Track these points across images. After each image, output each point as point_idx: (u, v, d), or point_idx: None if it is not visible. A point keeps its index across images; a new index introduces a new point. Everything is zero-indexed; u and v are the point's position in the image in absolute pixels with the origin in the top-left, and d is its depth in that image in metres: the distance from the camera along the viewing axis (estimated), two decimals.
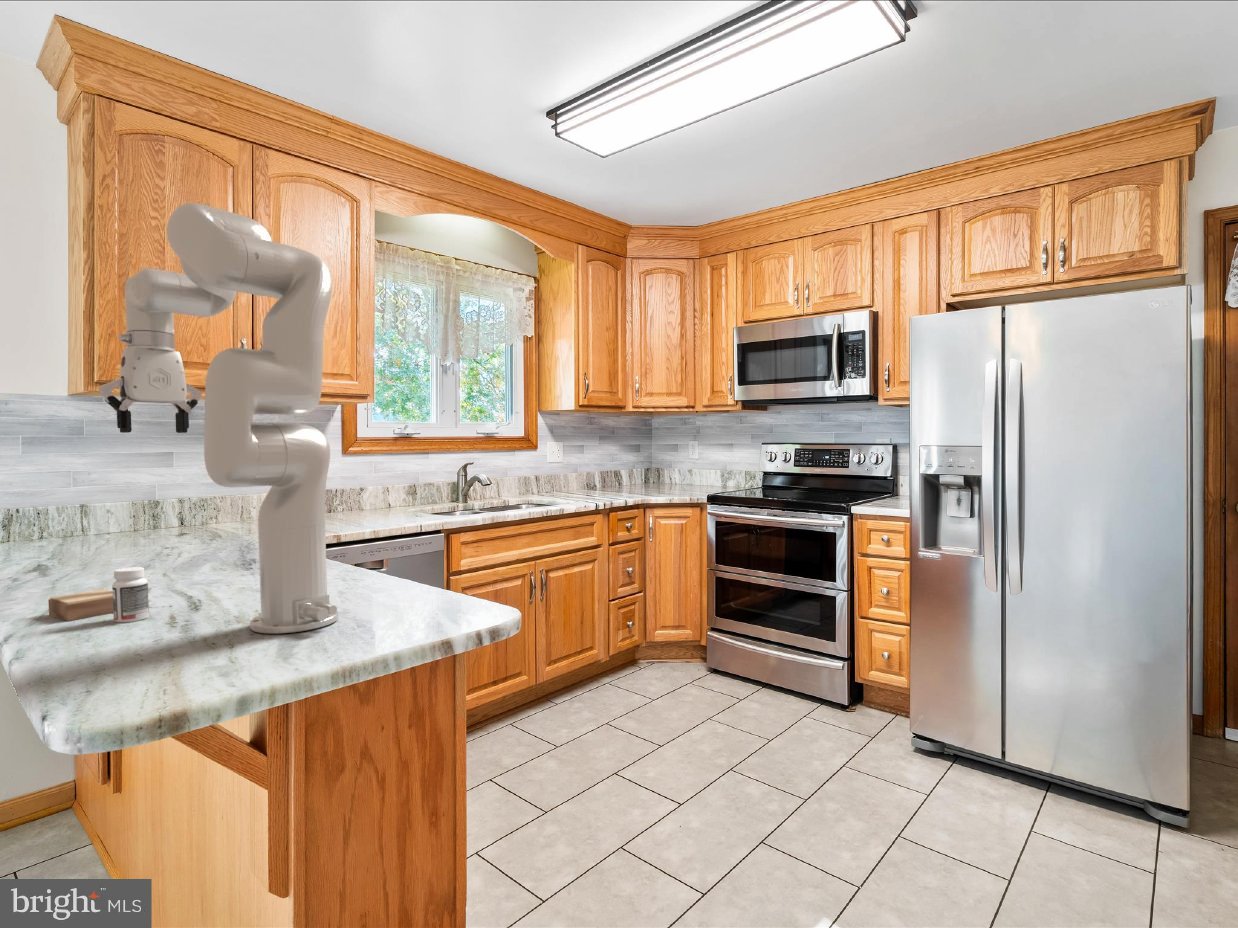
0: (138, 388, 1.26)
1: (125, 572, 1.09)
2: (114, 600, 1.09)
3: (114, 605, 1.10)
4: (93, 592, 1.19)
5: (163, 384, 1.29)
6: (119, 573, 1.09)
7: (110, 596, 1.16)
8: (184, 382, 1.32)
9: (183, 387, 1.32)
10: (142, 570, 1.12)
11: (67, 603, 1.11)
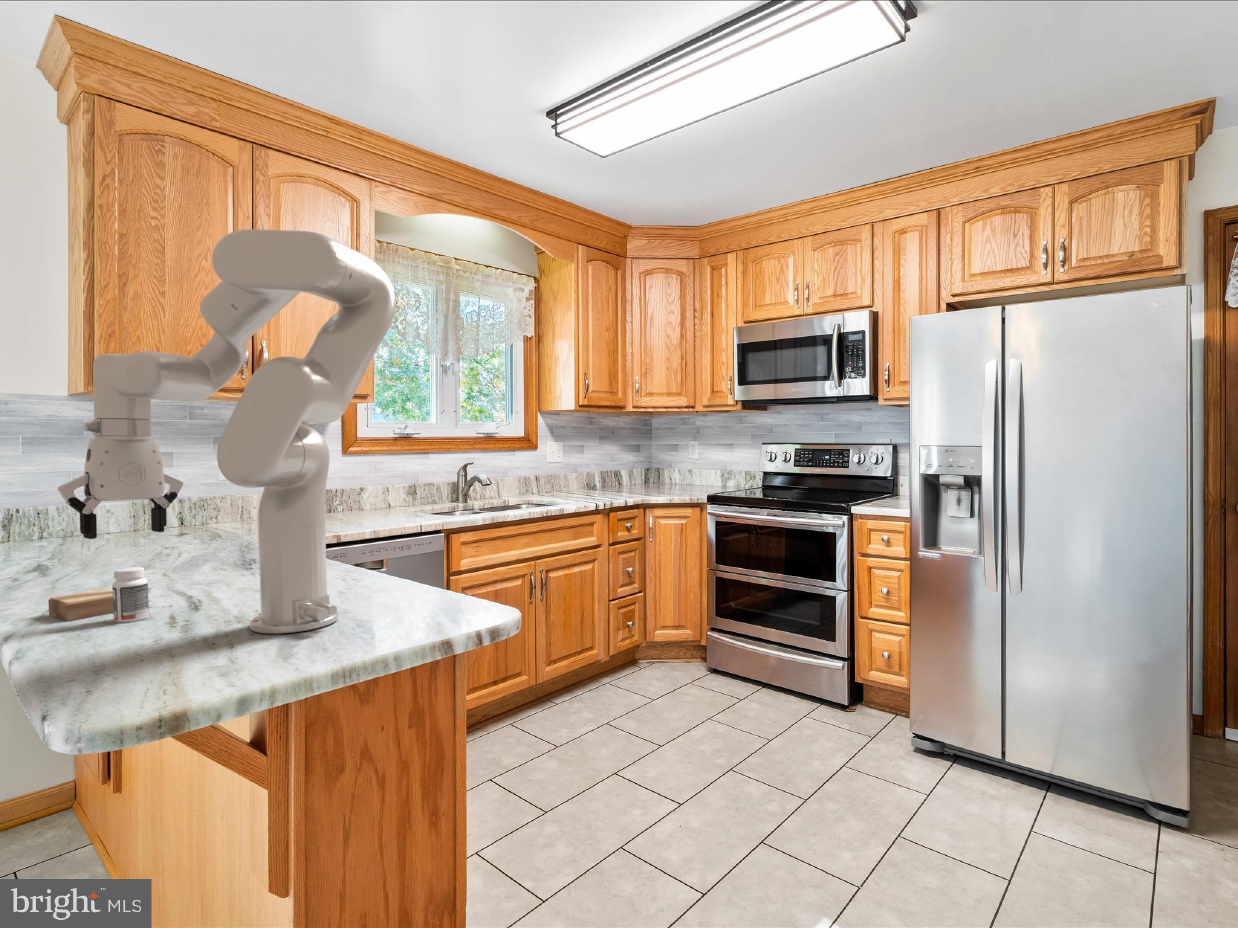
0: (106, 487, 1.06)
1: (125, 572, 1.09)
2: (114, 600, 1.09)
3: (114, 605, 1.10)
4: (93, 592, 1.19)
5: (136, 480, 1.10)
6: (119, 573, 1.09)
7: (110, 596, 1.16)
8: (161, 474, 1.13)
9: (160, 480, 1.13)
10: (142, 570, 1.12)
11: (67, 603, 1.11)
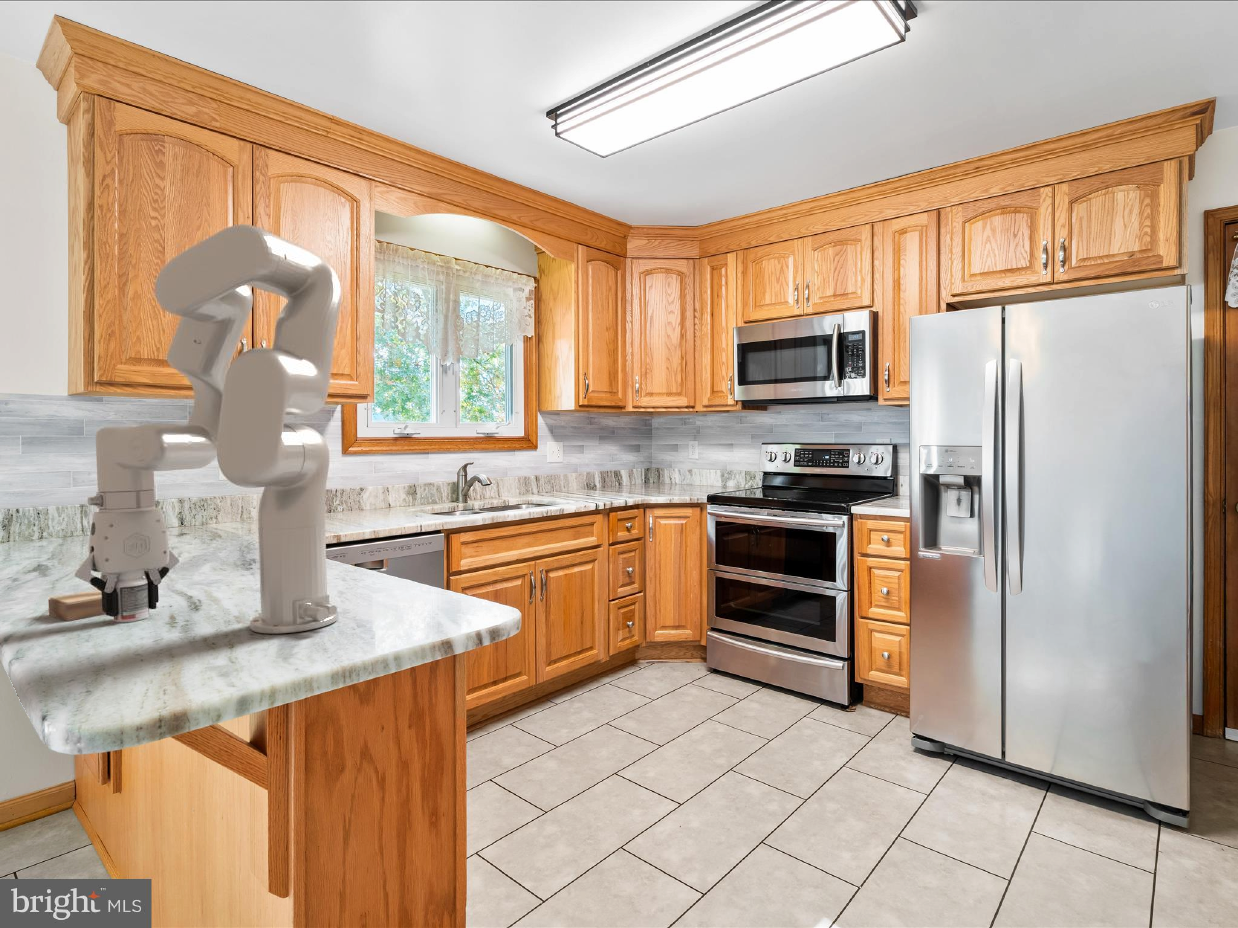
0: (111, 560, 1.07)
1: None
2: None
3: None
4: (93, 592, 1.19)
5: (141, 550, 1.10)
6: None
7: None
8: (166, 543, 1.14)
9: (165, 549, 1.13)
10: (142, 570, 1.12)
11: (67, 603, 1.11)
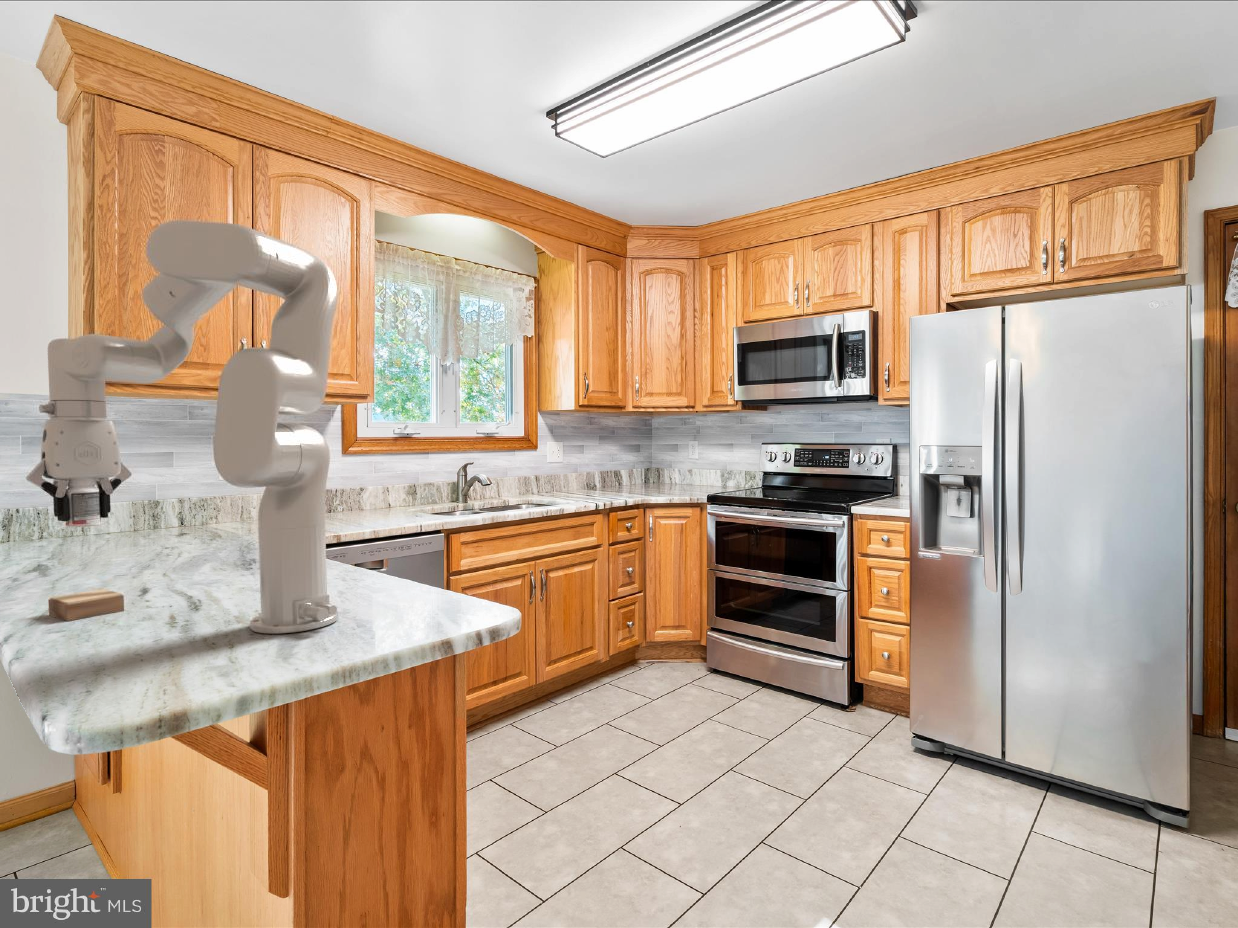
0: (61, 466, 1.11)
1: (76, 479, 1.14)
2: None
3: None
4: (93, 592, 1.19)
5: (92, 459, 1.15)
6: (70, 480, 1.14)
7: (110, 596, 1.16)
8: (117, 454, 1.18)
9: (116, 460, 1.18)
10: (93, 479, 1.16)
11: (67, 603, 1.11)
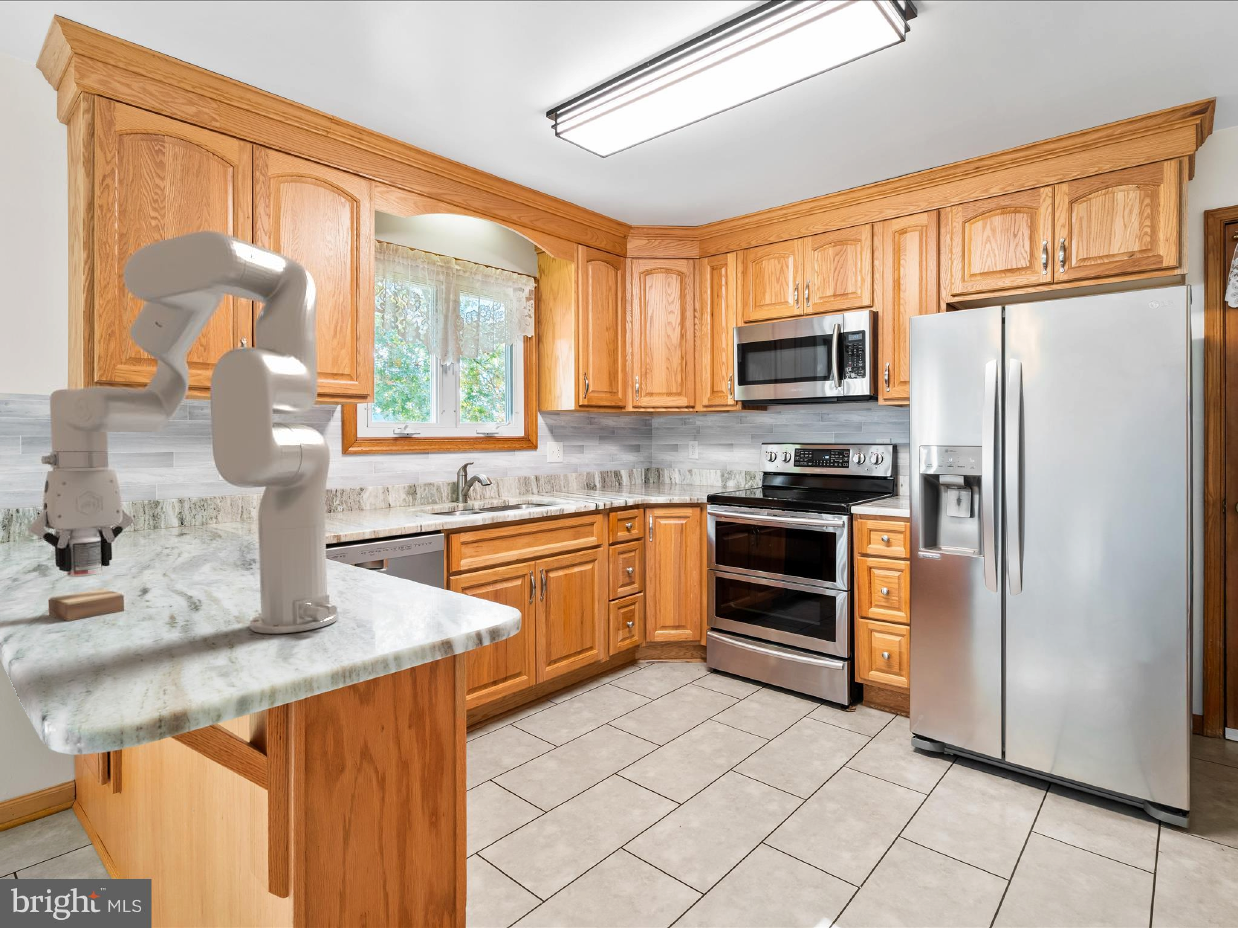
0: (63, 517, 1.11)
1: (78, 529, 1.14)
2: None
3: None
4: (93, 592, 1.19)
5: (94, 509, 1.15)
6: (72, 530, 1.14)
7: (110, 596, 1.16)
8: (119, 503, 1.18)
9: (118, 509, 1.18)
10: (95, 528, 1.16)
11: (67, 603, 1.11)
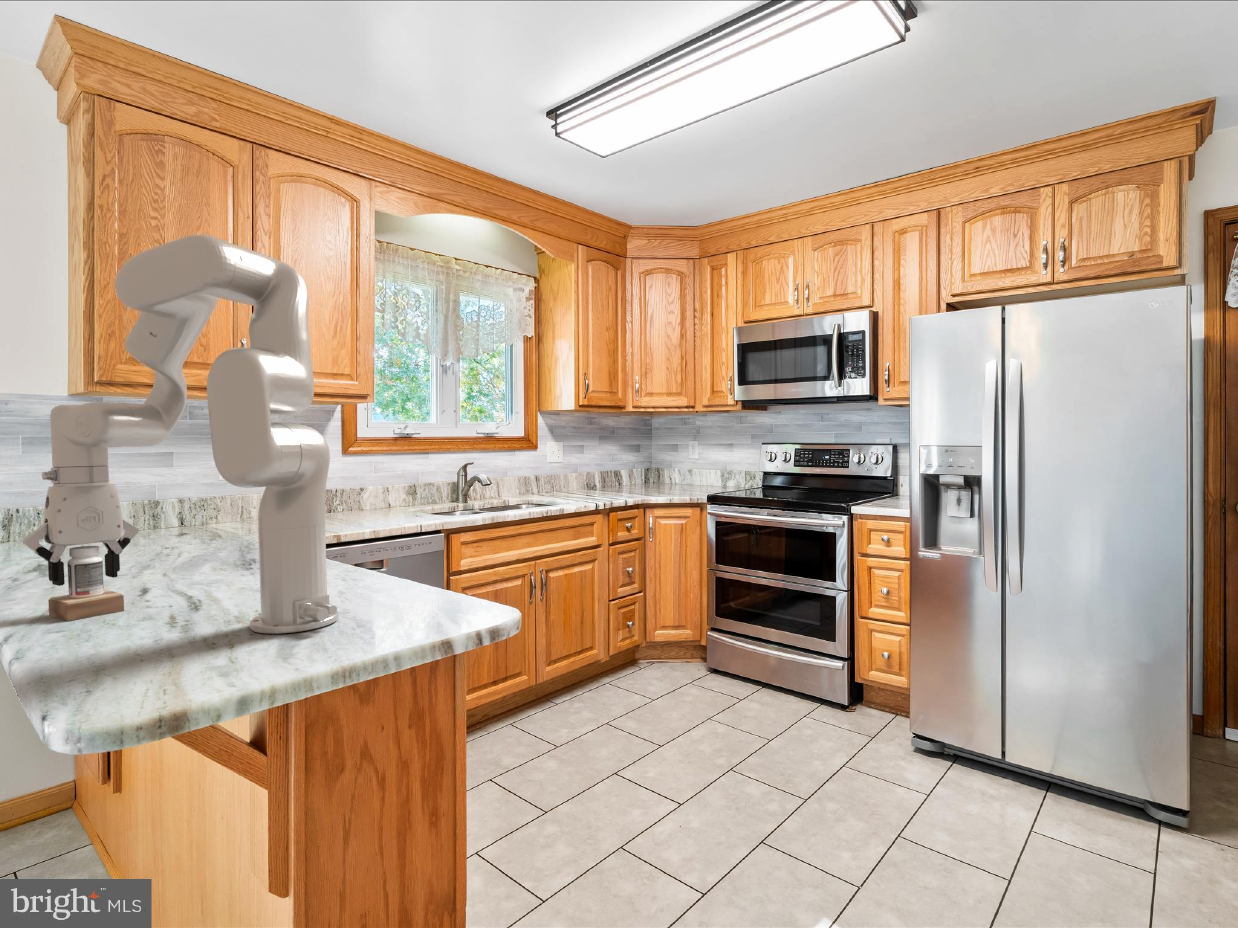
0: (64, 532, 1.11)
1: (79, 550, 1.14)
2: (69, 577, 1.14)
3: (69, 581, 1.14)
4: None
5: (94, 524, 1.15)
6: (74, 551, 1.14)
7: (110, 596, 1.16)
8: (120, 517, 1.18)
9: (118, 523, 1.18)
10: (97, 548, 1.16)
11: (67, 603, 1.11)
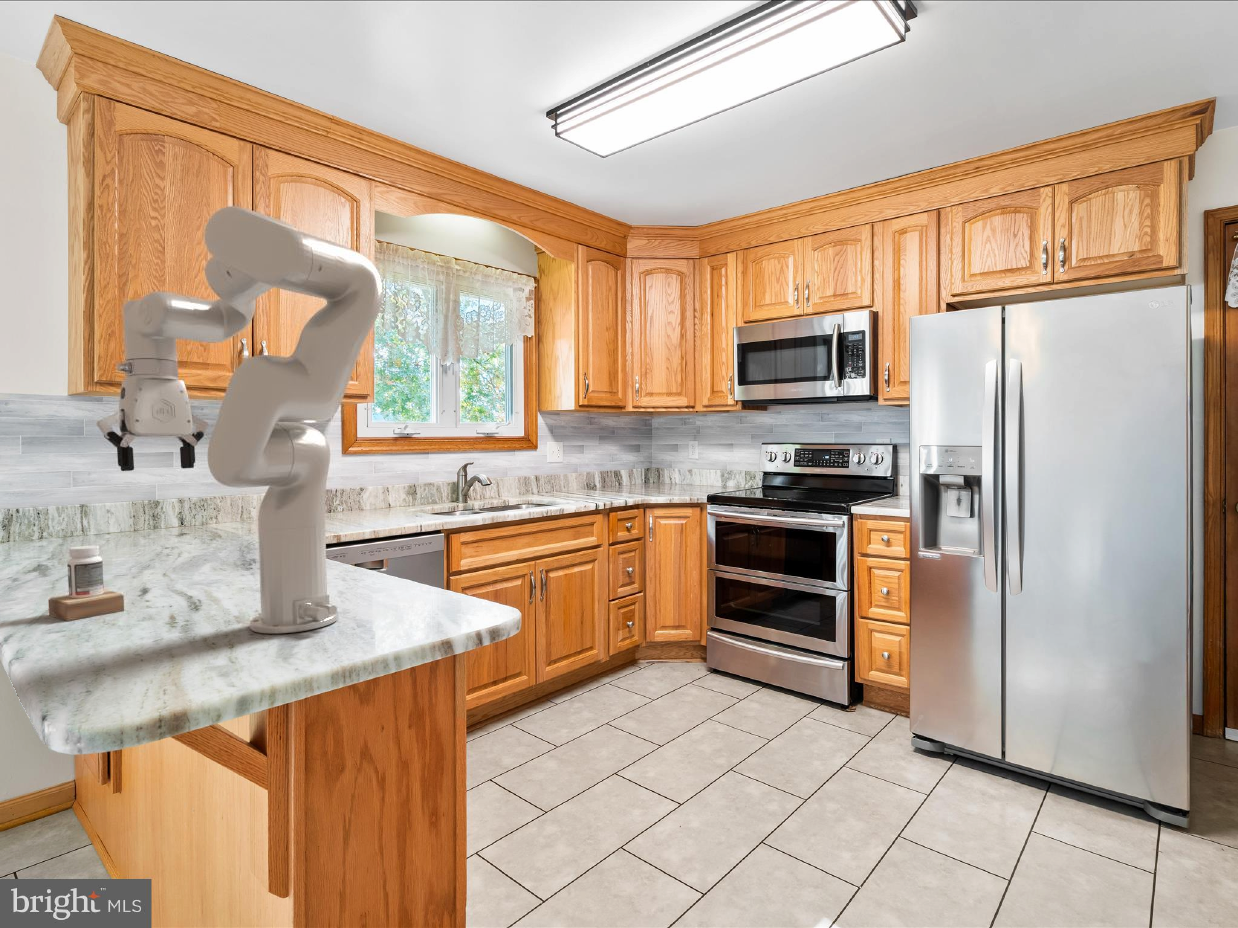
0: (140, 422, 1.15)
1: (79, 550, 1.14)
2: (69, 577, 1.14)
3: (69, 581, 1.14)
4: None
5: (167, 416, 1.18)
6: (74, 551, 1.14)
7: (110, 596, 1.16)
8: (189, 413, 1.22)
9: (188, 419, 1.21)
10: (97, 548, 1.16)
11: (67, 603, 1.11)
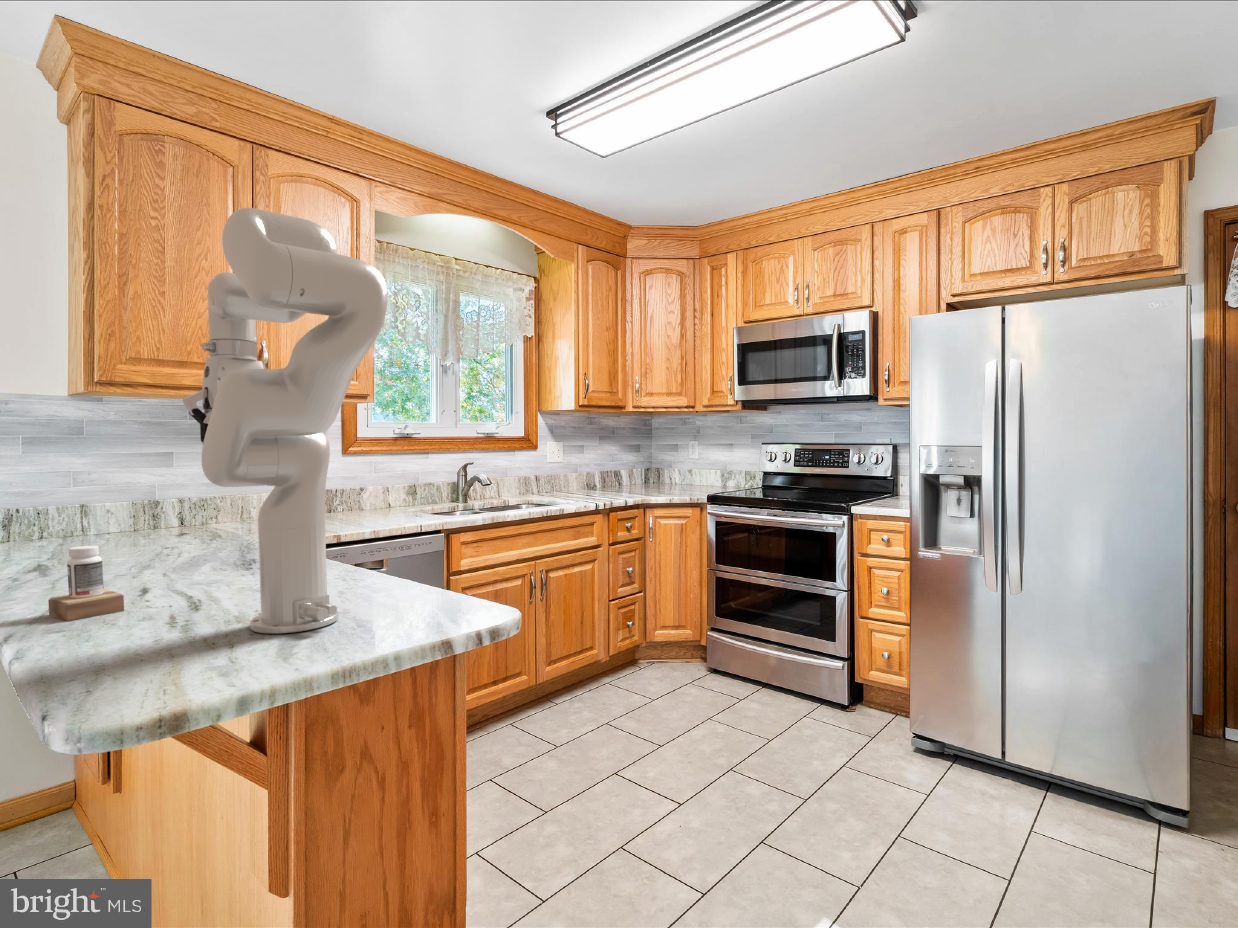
0: None
1: (79, 550, 1.14)
2: (69, 577, 1.14)
3: (69, 581, 1.14)
4: None
5: None
6: (73, 551, 1.14)
7: (110, 596, 1.16)
8: None
9: None
10: (96, 548, 1.16)
11: (67, 603, 1.11)
